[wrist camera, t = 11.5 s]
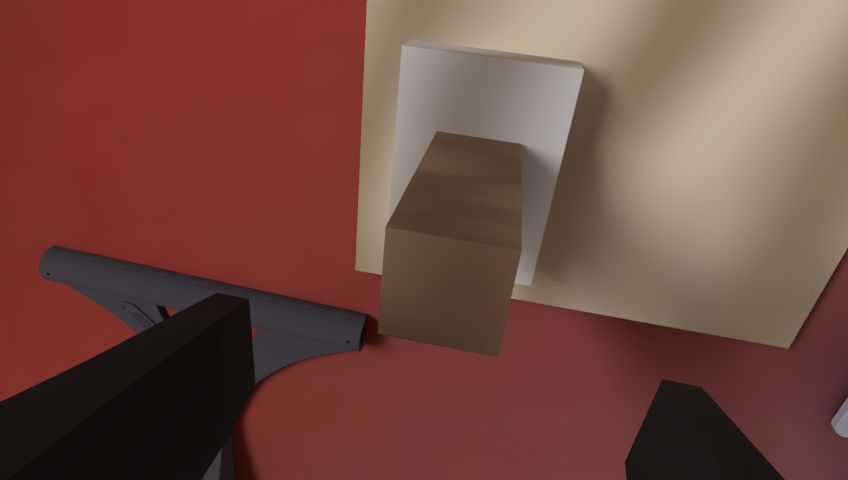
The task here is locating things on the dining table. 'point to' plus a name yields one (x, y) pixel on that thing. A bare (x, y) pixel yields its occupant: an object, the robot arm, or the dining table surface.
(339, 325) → the bracket
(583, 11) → the board
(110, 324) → the dining table surface
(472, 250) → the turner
